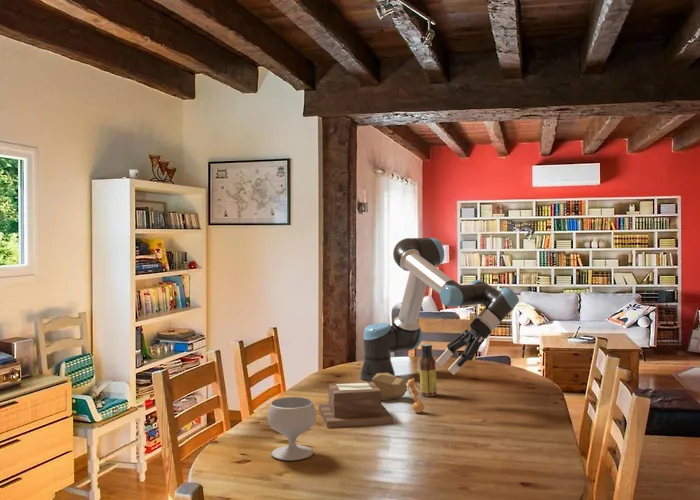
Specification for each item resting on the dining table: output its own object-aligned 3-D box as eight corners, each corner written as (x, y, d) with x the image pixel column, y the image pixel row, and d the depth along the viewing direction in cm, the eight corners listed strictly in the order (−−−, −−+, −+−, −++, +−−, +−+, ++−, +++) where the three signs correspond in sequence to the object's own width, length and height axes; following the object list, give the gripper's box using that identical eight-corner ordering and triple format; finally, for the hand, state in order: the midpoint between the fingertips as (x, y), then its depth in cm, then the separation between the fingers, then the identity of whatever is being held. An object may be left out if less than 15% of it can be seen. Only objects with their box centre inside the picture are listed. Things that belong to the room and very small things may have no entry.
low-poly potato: (363, 398, 237) (370, 391, 227) (368, 371, 242) (375, 363, 232) (400, 408, 239) (409, 401, 229) (404, 381, 244) (413, 373, 234)
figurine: (419, 416, 212) (418, 381, 212) (403, 414, 215) (402, 380, 215) (428, 410, 220) (427, 376, 219) (412, 408, 223) (412, 375, 222)
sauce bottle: (436, 393, 243) (436, 343, 242) (437, 397, 237) (436, 346, 236) (419, 393, 243) (419, 343, 243) (419, 397, 237) (419, 346, 237)
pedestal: (319, 409, 223) (318, 380, 222) (378, 405, 226) (378, 377, 226) (327, 427, 201) (326, 396, 201) (392, 423, 205) (392, 392, 204)
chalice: (292, 442, 187) (291, 393, 187) (326, 452, 178) (326, 400, 178) (257, 455, 176) (256, 403, 176) (292, 467, 167) (291, 412, 167)
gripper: (505, 337, 209) (464, 383, 207) (478, 326, 234) (440, 367, 232) (491, 322, 208) (448, 368, 206) (464, 313, 233) (426, 354, 231)
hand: (444, 368), depth 219 cm, fingers open, 13 cm apart
